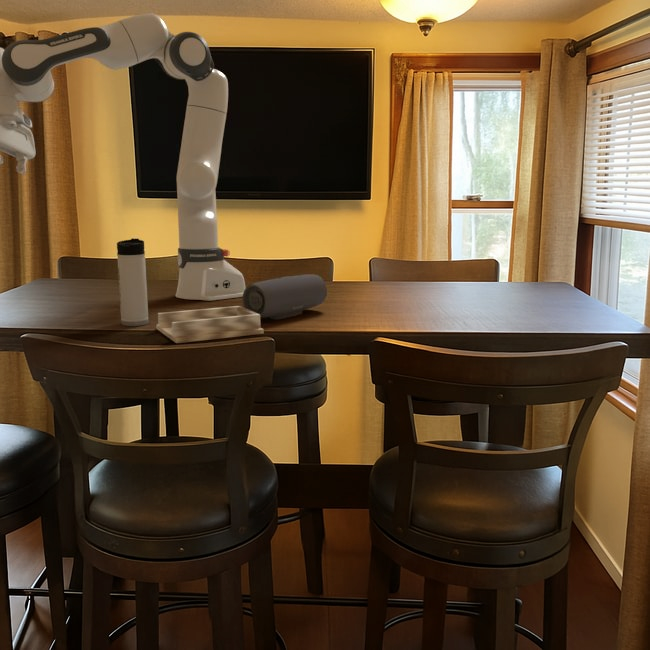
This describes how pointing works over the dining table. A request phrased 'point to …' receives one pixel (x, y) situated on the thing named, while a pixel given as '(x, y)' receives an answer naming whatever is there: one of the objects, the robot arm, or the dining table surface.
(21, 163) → the robot arm
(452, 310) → the dining table surface
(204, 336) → the tray
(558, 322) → the dining table surface
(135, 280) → the travel mug
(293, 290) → the bluetooth speaker
